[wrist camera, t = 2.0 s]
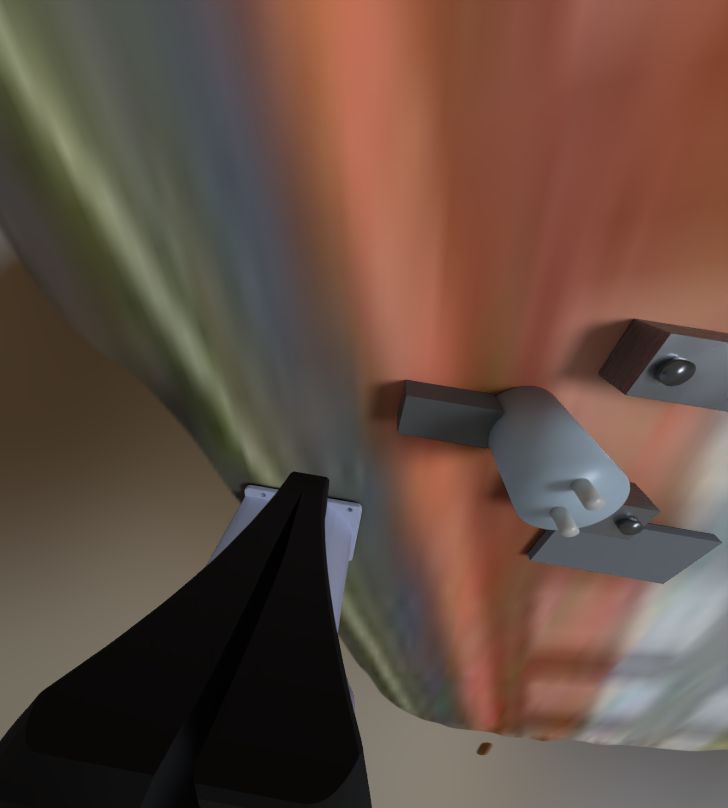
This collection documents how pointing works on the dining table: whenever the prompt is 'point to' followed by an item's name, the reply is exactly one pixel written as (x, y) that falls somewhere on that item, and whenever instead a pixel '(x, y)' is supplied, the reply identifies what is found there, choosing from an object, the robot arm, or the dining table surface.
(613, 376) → the channel
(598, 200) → the dining table surface
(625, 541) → the grey flat plate
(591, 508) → the plug
